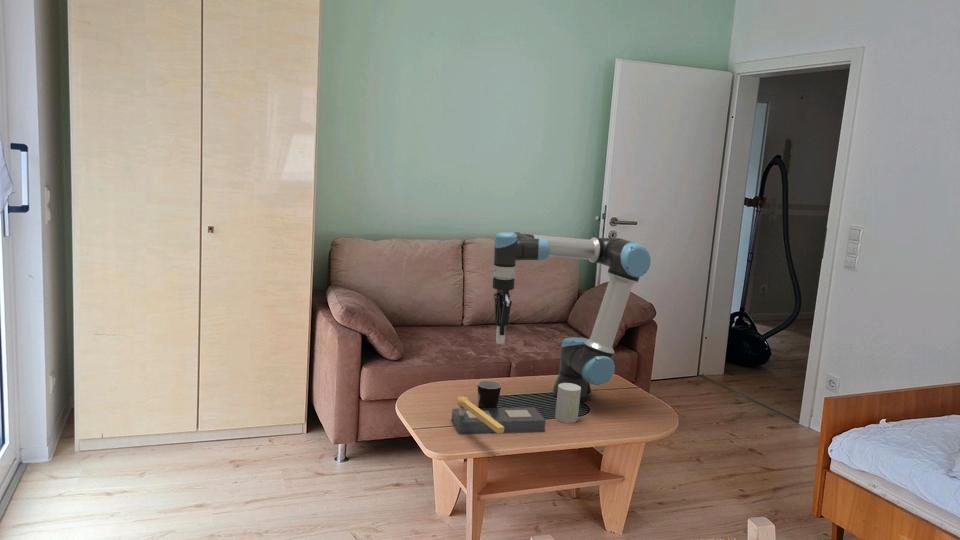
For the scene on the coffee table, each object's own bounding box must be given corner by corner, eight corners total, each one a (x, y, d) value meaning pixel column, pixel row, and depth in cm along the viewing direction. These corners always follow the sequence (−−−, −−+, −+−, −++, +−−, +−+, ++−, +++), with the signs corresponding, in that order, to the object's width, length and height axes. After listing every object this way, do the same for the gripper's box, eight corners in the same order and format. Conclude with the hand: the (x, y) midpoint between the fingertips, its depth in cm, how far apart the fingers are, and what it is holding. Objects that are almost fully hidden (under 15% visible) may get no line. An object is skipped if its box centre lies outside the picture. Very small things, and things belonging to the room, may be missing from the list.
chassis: (533, 417, 260) (535, 398, 259) (544, 431, 249) (546, 410, 248) (451, 419, 253) (453, 399, 252) (458, 433, 241) (460, 412, 240)
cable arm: (455, 403, 247) (455, 396, 246) (464, 401, 249) (465, 395, 248) (495, 434, 224) (496, 427, 223) (505, 432, 225) (506, 426, 225)
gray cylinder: (563, 424, 257) (566, 391, 255) (550, 415, 264) (553, 383, 262) (582, 421, 261) (585, 389, 259) (569, 413, 268) (572, 382, 266)
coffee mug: (496, 416, 259) (499, 390, 257) (473, 413, 260) (475, 386, 258) (502, 405, 270) (504, 379, 268) (479, 402, 271) (481, 376, 270)
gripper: (488, 273, 257) (484, 338, 262) (499, 281, 245) (495, 348, 250) (508, 273, 259) (504, 337, 264) (520, 281, 247) (516, 348, 252)
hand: (500, 342), depth 257 cm, fingers closed
